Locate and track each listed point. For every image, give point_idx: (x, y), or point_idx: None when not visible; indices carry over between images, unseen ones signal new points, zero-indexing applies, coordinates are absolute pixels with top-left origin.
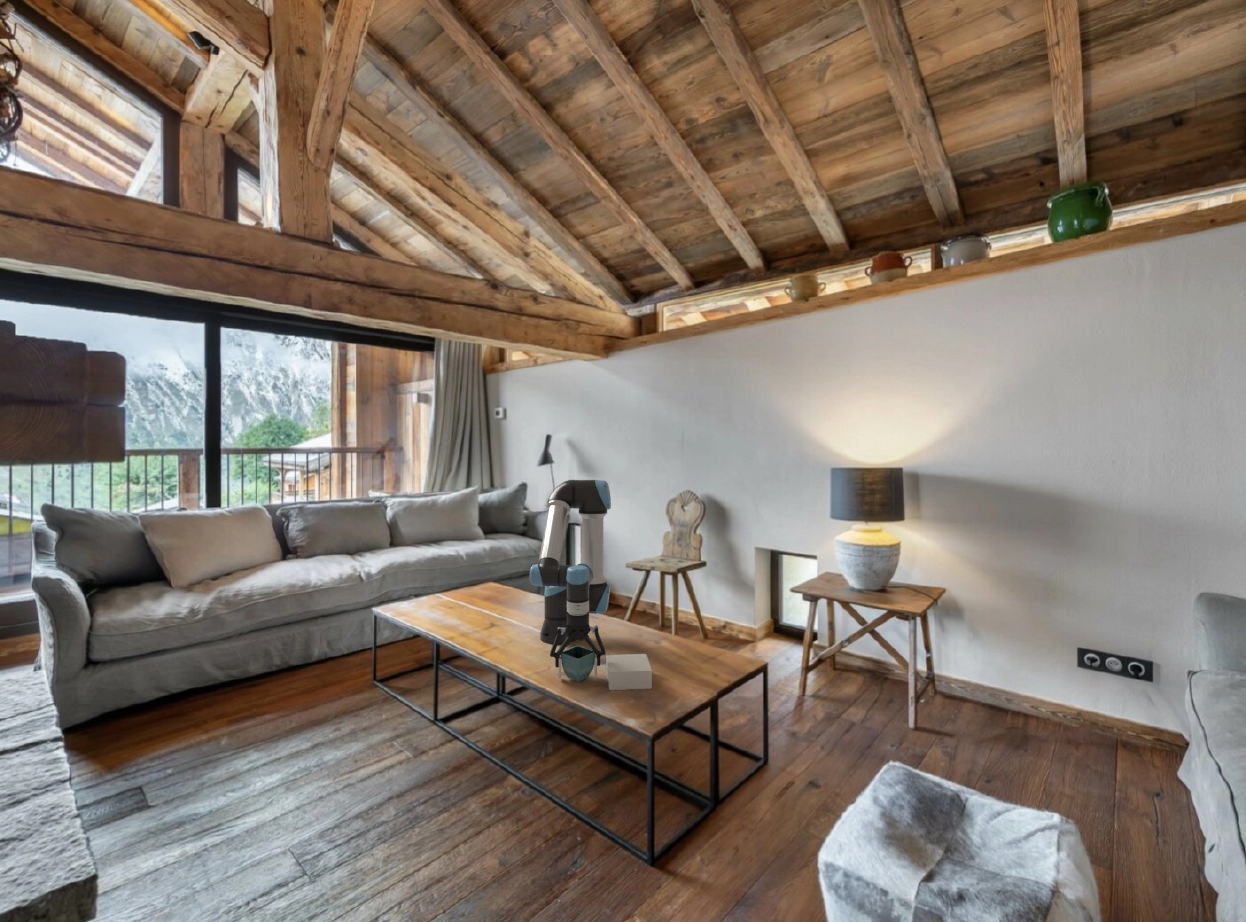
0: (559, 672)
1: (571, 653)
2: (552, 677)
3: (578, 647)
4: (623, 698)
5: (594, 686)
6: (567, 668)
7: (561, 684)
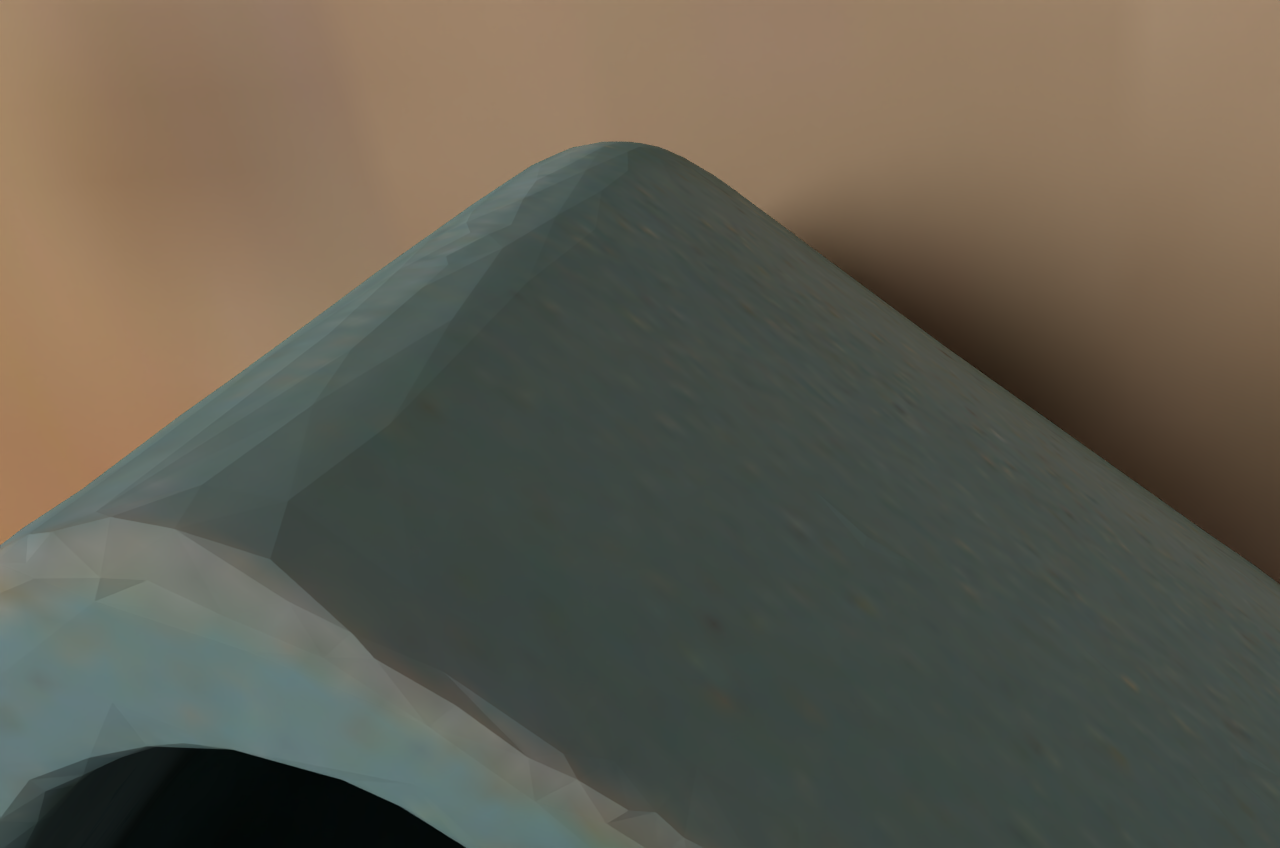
0: None
1: (101, 837)
2: (30, 393)
3: (324, 637)
4: None
5: None
6: None
7: None
